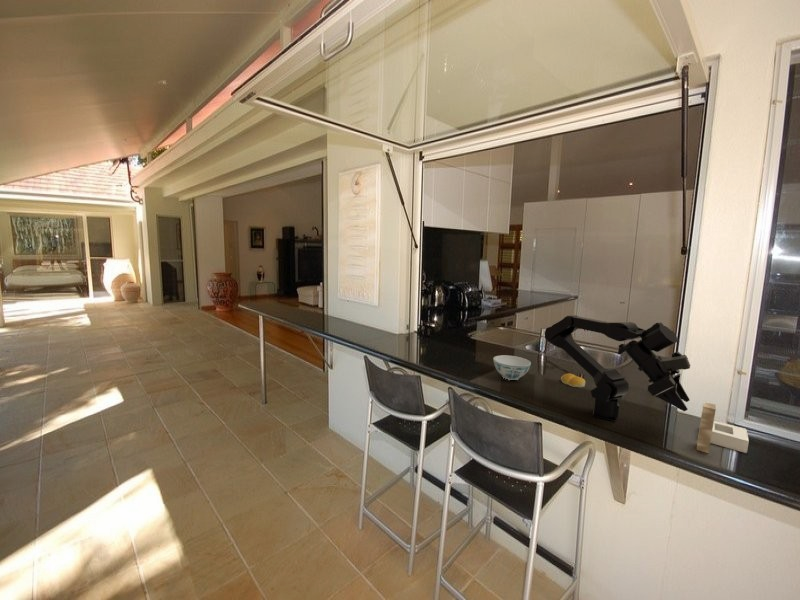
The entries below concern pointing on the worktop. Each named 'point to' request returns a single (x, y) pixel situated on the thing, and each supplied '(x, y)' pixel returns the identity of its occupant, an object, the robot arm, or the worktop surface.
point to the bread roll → (573, 380)
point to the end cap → (730, 436)
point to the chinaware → (511, 366)
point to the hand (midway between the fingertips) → (687, 405)
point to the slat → (706, 427)
